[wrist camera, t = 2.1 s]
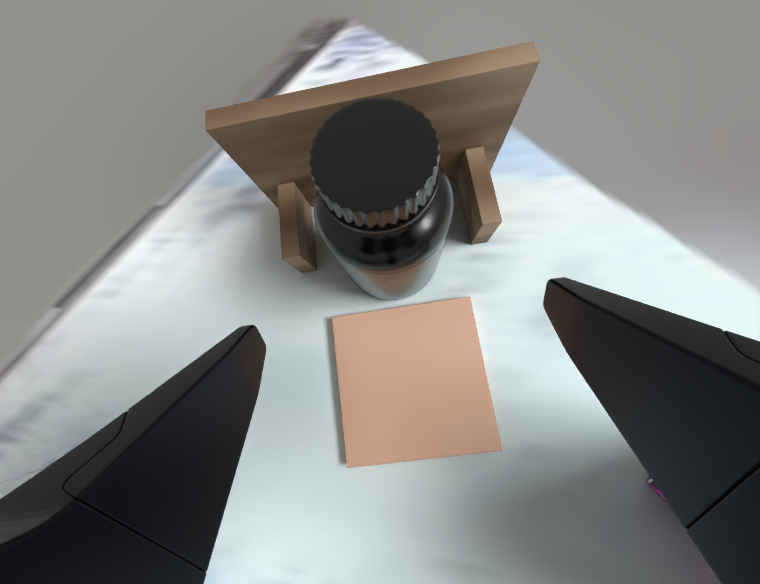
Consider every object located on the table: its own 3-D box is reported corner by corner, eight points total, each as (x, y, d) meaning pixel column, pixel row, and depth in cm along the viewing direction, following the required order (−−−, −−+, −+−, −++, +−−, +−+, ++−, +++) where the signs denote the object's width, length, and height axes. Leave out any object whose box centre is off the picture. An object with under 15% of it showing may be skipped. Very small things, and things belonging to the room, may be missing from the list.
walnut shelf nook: (504, 238, 21) (572, 160, 12) (285, 275, 22) (206, 226, 14) (485, 160, 23) (533, 41, 14) (280, 198, 24) (205, 110, 15)
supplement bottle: (336, 237, 23) (257, 117, 11) (414, 202, 23) (420, 44, 11) (368, 315, 21) (317, 273, 9) (453, 279, 21) (507, 191, 9)
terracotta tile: (499, 447, 18) (501, 450, 18) (349, 464, 19) (347, 467, 19) (468, 298, 21) (469, 296, 20) (334, 318, 21) (331, 317, 21)
